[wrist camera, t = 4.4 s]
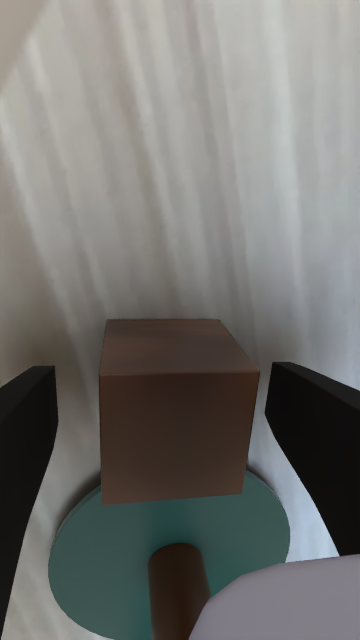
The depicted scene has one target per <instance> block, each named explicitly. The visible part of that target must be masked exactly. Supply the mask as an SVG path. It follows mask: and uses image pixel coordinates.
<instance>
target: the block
mask: <svg viewBox="0 0 360 640" xmlns="http://www.w3.org/2000/svg"><path fill="white" fill-rule="evenodd" d="M259 376H260V370H259V369H258V368H257V366H256V365H255V364H254V363H253V361H252V360H251V359H250V358H249V356H248V355H247V354H246V353H245V351H244V350H243V349H242V348H241V346H240V345H239V344H238V343H237V341H236V340H235V339H234V338H233V336H232V335H231V334H230V333H229V331H228V330H227V329H226V328H225V326H224V325H223V324H222V323H221V321H220V320H107V322H106V329H105V336H104V343H103V349H102V356H101V363H100V369H99V414H100V458H101V503H102V505H114V504H126V503H138V502H151V501H163V500H175V499H187V498H200V497H212V496H224V495H236V494H242V492H243V485H244V479H245V472H246V465H247V458H248V451H249V444H250V437H251V431H252V424H253V417H254V410H255V403H256V396H257V389H258V383H259Z"/></svg>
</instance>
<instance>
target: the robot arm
mask: <svg viewBox="0 0 360 640" xmlns="http://www.w3.org/2000/svg"><path fill="white" fill-rule="evenodd" d="M265 416H266V418H267V421H268V423H269V426H270V428H271V430H272V433H273V435H274V437H275V439H276V441H277V442H278V444H279V446H280V447H281V449H282V451H283V452H284V454H285V456H286V457H287V459H288V461H289V462H290V464H291V465H292V467H293V469H294V470H295V472H296V473H297V475H298V477H299V478H300V480H301V482H302V483H303V485H304V486H305V488H306V490H307V491H308V493H309V495H310V496H311V498H312V500H313V502H314V503H315V505H316V507H317V509H318V511H319V513H320V515H321V517H322V519H323V521H324V523H325V525H326V528H327V530H328V532H329V534H330V536H331V538H332V540H333V542H334V544H335V547H336V549H337V551H338V553H339V557H331V558H322V559H314V560H305V561H296V562H288V563H279V564H276V565H273V566H269V567H266V568H263V569H260V570H256V571H253V572H250V573H247V574H243V575H240V576H239V577H237V578H236V579H235V580H233V581H232V582H231V583H230V584H228V585H227V586H226V587H224V588H223V589H222V590H220V591H219V592H218V593H217V594H215V595H214V596H213V597H211V598H210V599H209V600H208V601H207V603H206V604H205V606H204V608H203V610H202V612H201V614H200V616H199V618H198V620H197V622H196V624H195V626H194V629H193V631H192V633H191V635H190V637H189V640H360V391H359V390H356V389H354V388H352V387H349V386H347V385H345V384H342V383H340V382H338V381H335V380H333V379H331V378H329V377H326V376H324V375H322V374H320V373H317V372H315V371H313V370H311V369H308V368H306V367H303V366H301V365H298V364H295V363H292V362H272V368H271V374H270V381H269V387H268V393H267V400H266V406H265ZM57 427H58V407H57V392H56V378H55V366H33V367H31V368H30V369H28V370H26V371H25V372H23V373H22V374H20V375H19V376H17V377H16V378H14V379H13V380H11V381H10V382H8V383H7V384H5V385H4V386H2V387H1V388H0V640H1V636H2V631H3V627H4V622H5V617H6V612H7V608H8V604H9V599H10V595H11V590H12V586H13V581H14V577H15V572H16V568H17V564H18V560H19V555H20V551H21V547H22V543H23V539H24V535H25V531H26V528H27V524H28V521H29V518H30V515H31V512H32V509H33V506H34V503H35V500H36V498H37V495H38V492H39V489H40V486H41V483H42V480H43V478H44V475H45V472H46V469H47V466H48V463H49V460H50V457H51V454H52V451H53V447H54V442H55V438H56V432H57Z"/></svg>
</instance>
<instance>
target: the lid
mask: <svg viewBox="0 0 360 640" xmlns="http://www.w3.org/2000/svg"><path fill="white" fill-rule="evenodd" d="M289 544H290V527H289V522H288V518H287V515H286V513H285V510H284V508H283V506H282V504H281V502H280V500H279V499H278V497H277V496H276V494H275V493H274V491H273V490H272V489H271V488H270V487H269V486H268V485H267V484H266V483H265V482H264V481H262V480H261V479H260V478H258V477H257V476H256V475H254V474H253V473H251V472H249V471H247V470H246V472H245V479H244V485H243V492H242V494H236V495H224V496H212V497H200V498H187V499H175V500H163V501H151V502H138V503H126V504H114V505H102V503H101V485H99V486H98V487H96V488H95V489H94V490H93V491H91V492H90V493H89V494H87V495H86V496H85V497H84V498H83V499H82V500H81V501H80V502H79V503H78V504H77V505H76V506H75V507H74V508H73V509H72V510H71V511H70V513H69V514H68V515H67V517H66V518H65V519H64V521H63V522H62V524H61V526H60V528H59V529H58V531H57V533H56V536H55V539H54V541H53V544H52V548H51V553H50V558H49V564H48V577H49V582H50V587H51V590H52V593H53V595H54V598H55V600H56V601H57V603H58V604H59V606H60V608H61V609H62V610H63V611H64V612H65V613H66V614H67V615H68V617H69V618H71V619H72V620H73V621H74V622H76V623H77V624H78V625H80V626H82V627H83V628H85V629H87V630H89V631H91V632H93V633H96V634H98V635H100V636H103V637H107V638H111V639H114V640H189V637H190V635H191V633H192V631H193V629H194V626H195V624H196V622H197V620H198V618H199V616H200V614H201V612H202V610H203V608H204V606H205V604H206V603H207V601H208V600H209V599H210V598H211V597H213V596H214V595H215V594H217V593H218V592H219V591H220V590H222V589H223V588H224V587H226V586H227V585H228V584H230V583H231V582H232V581H233V580H235V579H236V578H237V577H239V576H240V575H243V574H247V573H250V572H253V571H256V570H260V569H263V568H266V567H269V566H273V565H276V564H279V563H285V561H286V558H287V554H288V551H289Z"/></svg>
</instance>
